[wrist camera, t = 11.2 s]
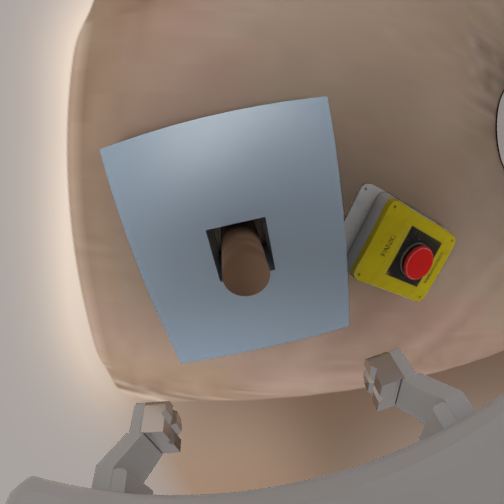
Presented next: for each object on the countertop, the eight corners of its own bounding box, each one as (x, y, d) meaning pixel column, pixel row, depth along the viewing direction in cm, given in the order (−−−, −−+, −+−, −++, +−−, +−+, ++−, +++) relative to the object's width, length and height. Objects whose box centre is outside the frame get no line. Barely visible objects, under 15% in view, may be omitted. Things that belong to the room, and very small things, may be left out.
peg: (251, 209, 28) (265, 249, 19) (258, 240, 29) (273, 290, 21) (217, 216, 28) (216, 260, 19) (225, 248, 29) (228, 300, 21)
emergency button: (432, 312, 31) (335, 279, 27) (414, 293, 35) (321, 258, 31) (471, 245, 28) (383, 188, 24) (450, 231, 32) (361, 178, 28)
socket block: (308, 100, 24) (327, 96, 19) (333, 299, 33) (349, 326, 28) (120, 143, 24) (99, 149, 19) (184, 332, 33) (181, 363, 28)
